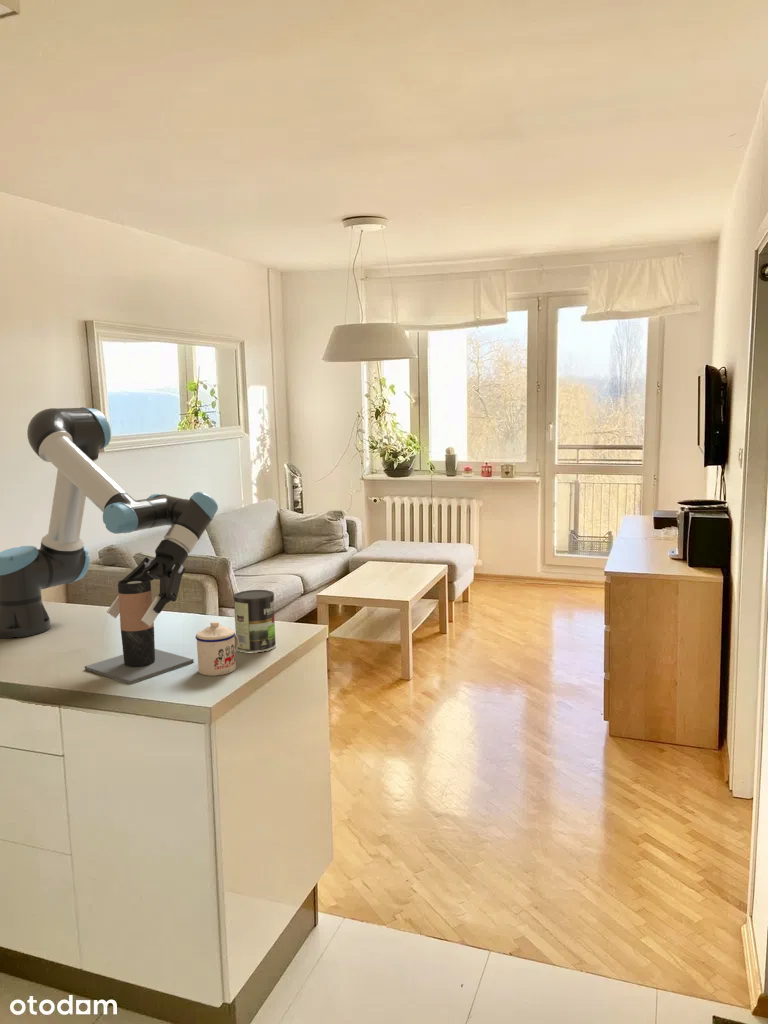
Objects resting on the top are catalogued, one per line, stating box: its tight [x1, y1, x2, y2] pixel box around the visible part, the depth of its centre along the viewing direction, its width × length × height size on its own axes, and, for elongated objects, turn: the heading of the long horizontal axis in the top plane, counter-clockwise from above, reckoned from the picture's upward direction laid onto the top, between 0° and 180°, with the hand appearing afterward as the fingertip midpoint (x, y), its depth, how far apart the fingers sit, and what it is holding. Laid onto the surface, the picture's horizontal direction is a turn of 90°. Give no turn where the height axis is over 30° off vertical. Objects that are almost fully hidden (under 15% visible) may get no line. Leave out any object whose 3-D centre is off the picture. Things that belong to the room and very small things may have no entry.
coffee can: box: [232, 589, 277, 653], centre depth 199 cm, size 10×10×14 cm
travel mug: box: [117, 578, 156, 667], centre depth 186 cm, size 8×8×20 cm
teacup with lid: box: [195, 620, 239, 677], centre depth 184 cm, size 12×9×12 cm
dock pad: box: [84, 648, 194, 685], centre depth 188 cm, size 18×18×1 cm
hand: (128, 619), depth 184 cm, fingers open, 13 cm apart
